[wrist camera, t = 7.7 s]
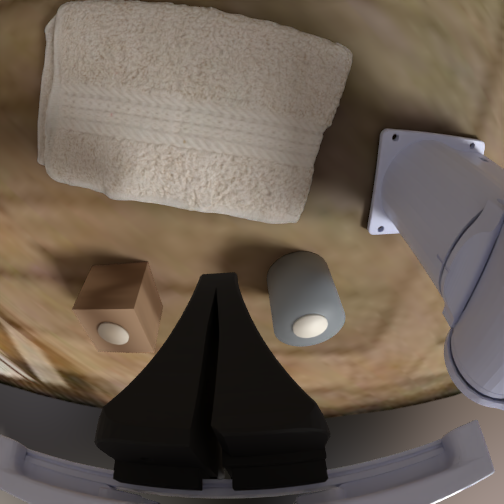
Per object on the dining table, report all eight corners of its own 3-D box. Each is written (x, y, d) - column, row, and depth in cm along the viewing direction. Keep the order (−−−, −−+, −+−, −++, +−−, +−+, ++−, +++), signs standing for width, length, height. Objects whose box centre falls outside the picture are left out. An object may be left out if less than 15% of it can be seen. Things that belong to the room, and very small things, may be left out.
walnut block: (148, 261, 23) (133, 310, 19) (163, 306, 26) (154, 355, 22) (92, 264, 23) (71, 311, 19) (112, 307, 26) (97, 353, 22)
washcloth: (65, 5, 11) (39, 2, 9) (350, 46, 15) (371, 46, 12) (51, 170, 18) (30, 189, 16) (295, 209, 22) (304, 234, 19)
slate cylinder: (333, 250, 23) (353, 299, 19) (323, 296, 26) (337, 344, 22) (267, 252, 23) (276, 305, 19) (265, 300, 26) (272, 350, 22)
